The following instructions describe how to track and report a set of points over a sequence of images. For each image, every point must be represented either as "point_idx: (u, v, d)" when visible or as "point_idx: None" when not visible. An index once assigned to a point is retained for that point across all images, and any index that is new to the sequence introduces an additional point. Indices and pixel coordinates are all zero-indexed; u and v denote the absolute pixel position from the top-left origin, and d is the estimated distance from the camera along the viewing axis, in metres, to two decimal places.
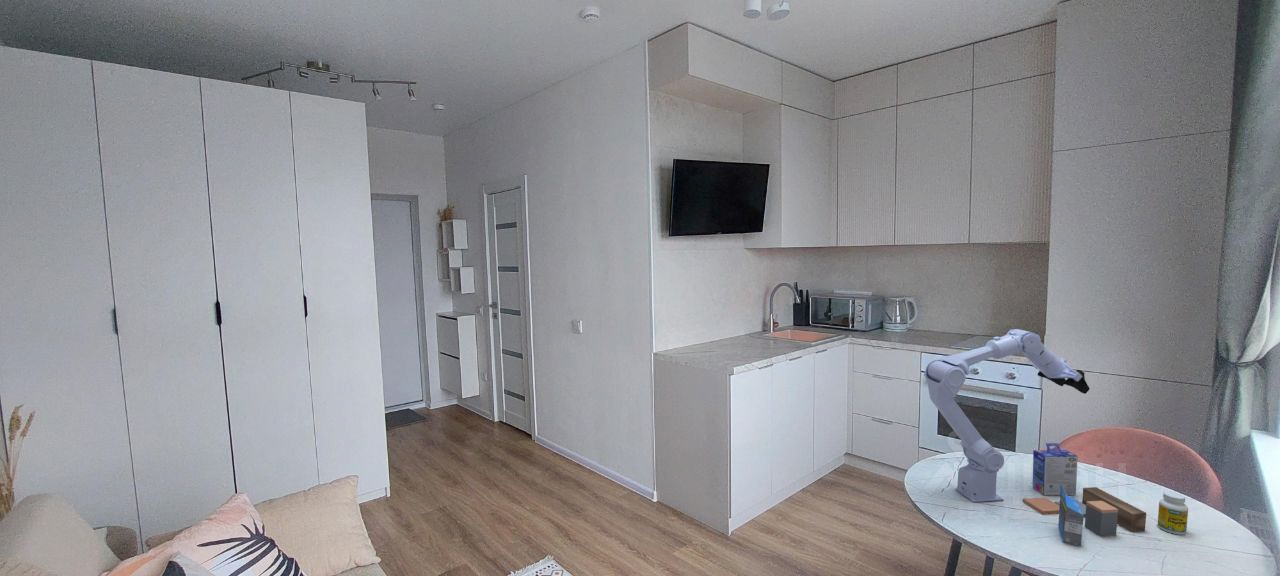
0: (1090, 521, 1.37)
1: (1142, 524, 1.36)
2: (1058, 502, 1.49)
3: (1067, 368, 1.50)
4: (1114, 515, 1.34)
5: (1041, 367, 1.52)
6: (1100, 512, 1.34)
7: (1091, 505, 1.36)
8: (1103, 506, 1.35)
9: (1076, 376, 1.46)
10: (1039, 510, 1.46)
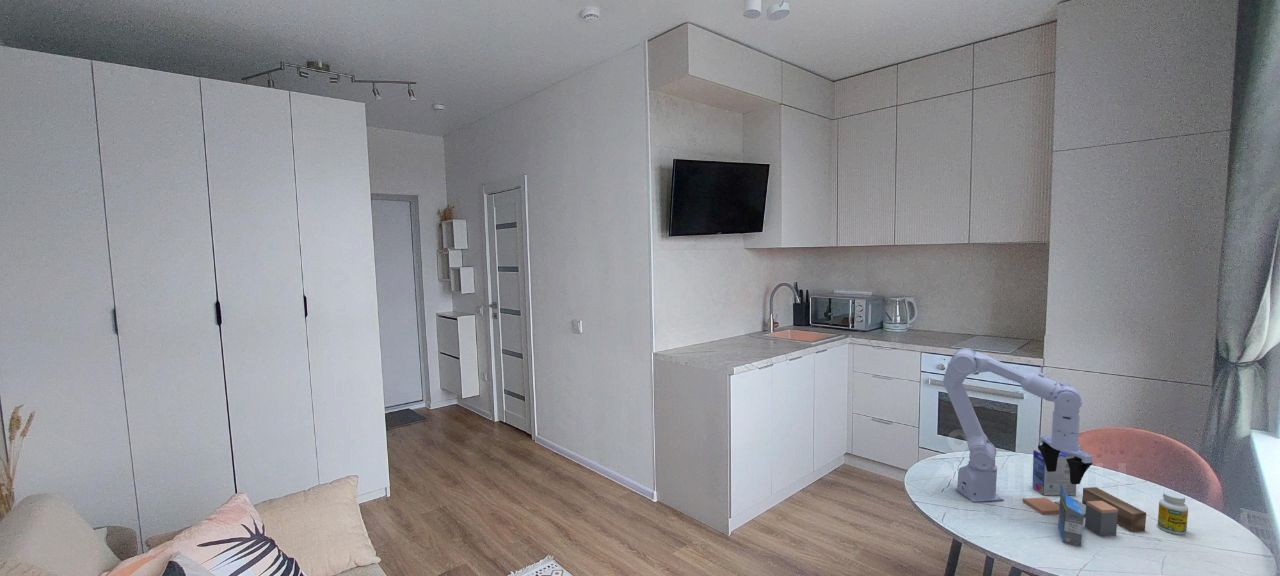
0: (1090, 521, 1.37)
1: (1142, 524, 1.36)
2: (1058, 502, 1.49)
3: (1079, 451, 1.40)
4: (1114, 515, 1.34)
5: (1059, 432, 1.42)
6: (1100, 512, 1.34)
7: (1091, 505, 1.36)
8: (1103, 506, 1.35)
9: (1087, 457, 1.36)
10: (1039, 510, 1.46)
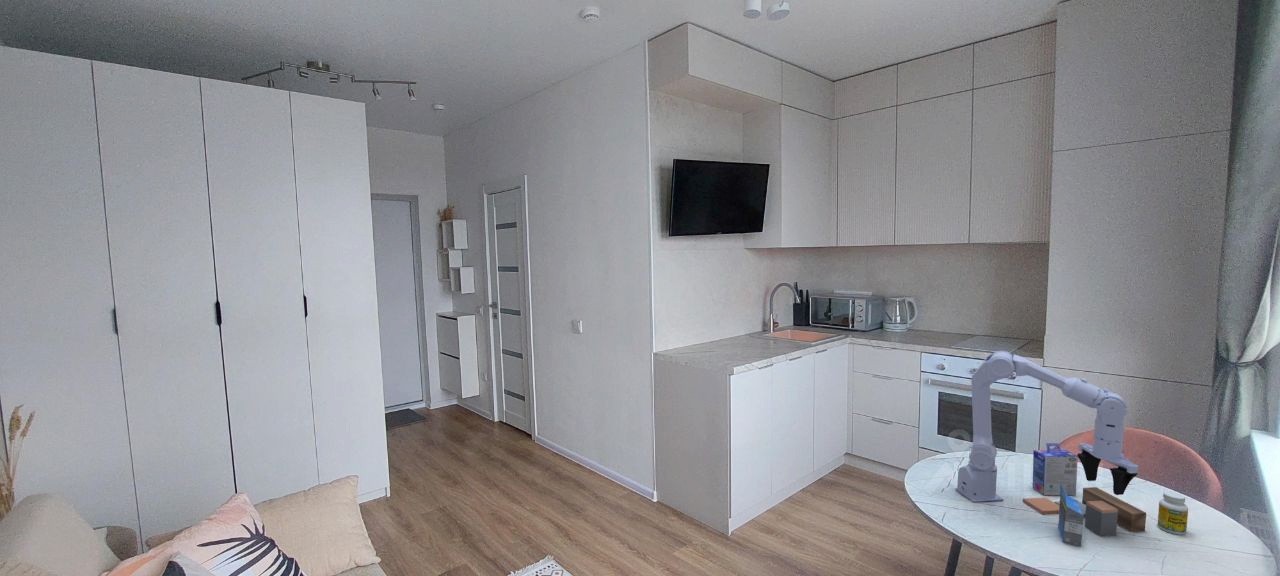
0: (1090, 521, 1.37)
1: (1142, 524, 1.36)
2: (1058, 502, 1.49)
3: (1123, 460, 1.35)
4: (1114, 515, 1.34)
5: (1102, 441, 1.36)
6: (1100, 512, 1.34)
7: (1091, 505, 1.36)
8: (1103, 506, 1.35)
9: (1133, 467, 1.31)
10: (1039, 510, 1.46)
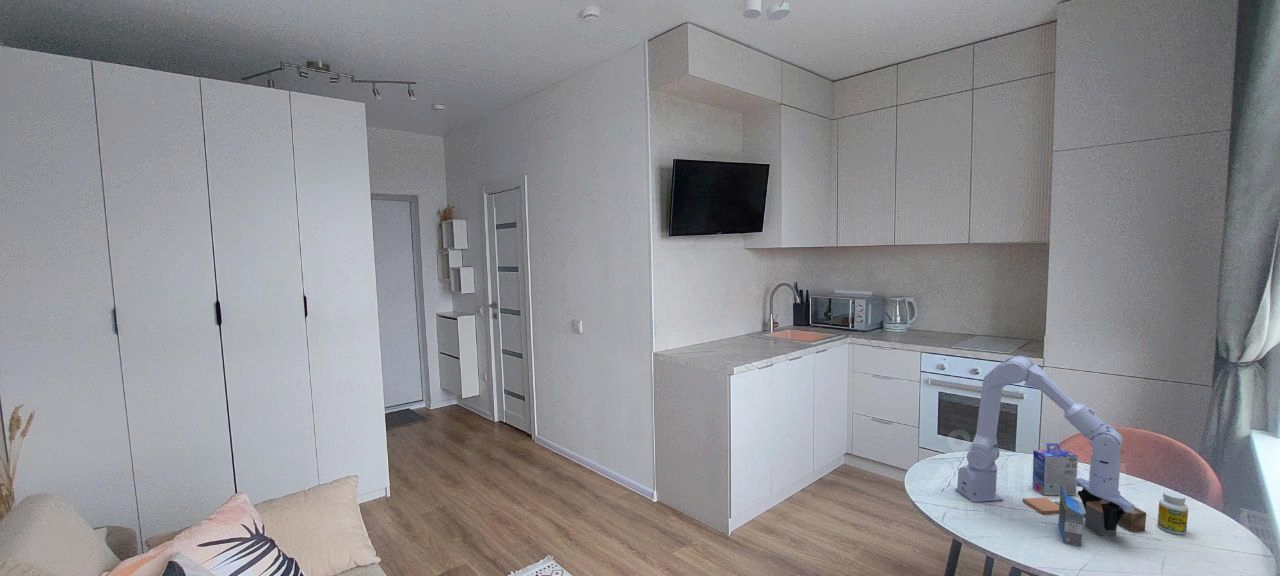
0: (1090, 520, 1.37)
1: (1142, 524, 1.36)
2: (1058, 502, 1.49)
3: (1119, 498, 1.32)
4: None
5: (1098, 478, 1.34)
6: (1100, 511, 1.34)
7: (1091, 505, 1.36)
8: None
9: (1130, 506, 1.28)
10: (1039, 510, 1.46)
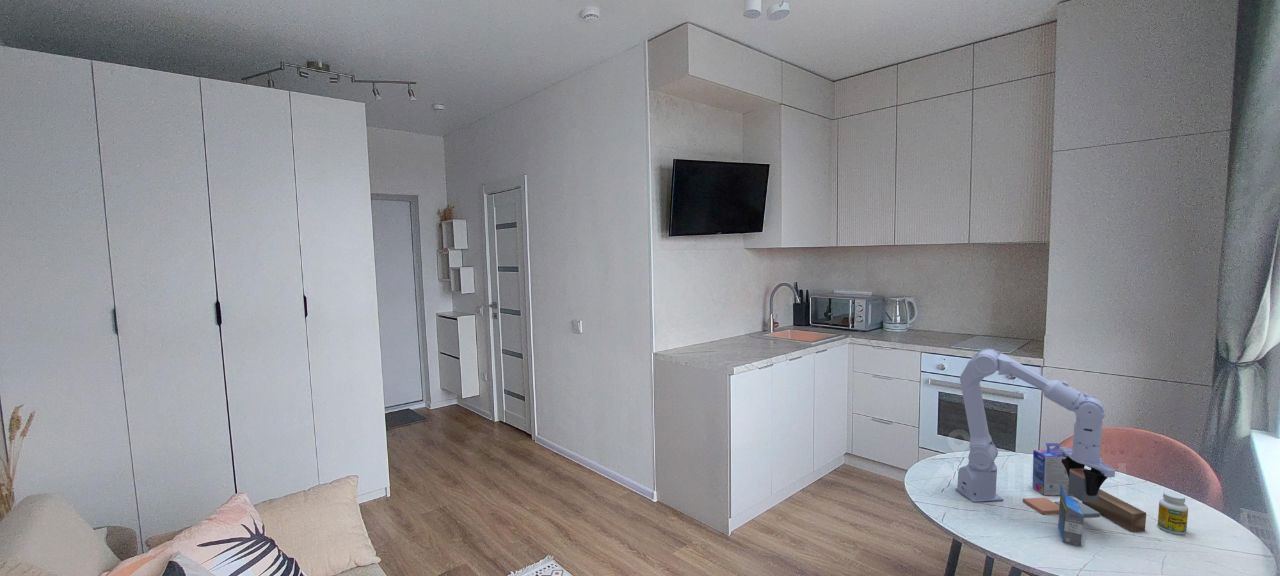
0: (1073, 487, 1.41)
1: (1142, 524, 1.36)
2: (1058, 502, 1.49)
3: (1101, 464, 1.36)
4: None
5: (1080, 445, 1.38)
6: (1083, 478, 1.38)
7: (1074, 472, 1.40)
8: None
9: (1110, 471, 1.32)
10: (1039, 510, 1.46)
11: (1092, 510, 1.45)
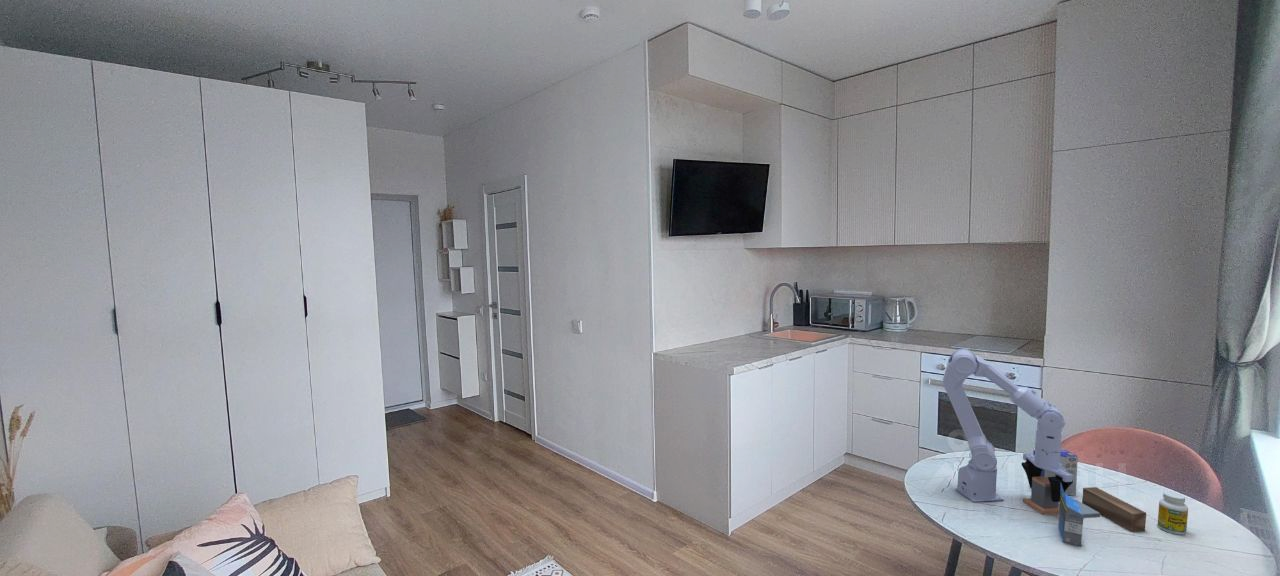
0: (1035, 494, 1.49)
1: (1142, 524, 1.36)
2: None
3: (1060, 469, 1.44)
4: None
5: (1041, 451, 1.46)
6: (1043, 485, 1.46)
7: (1036, 480, 1.48)
8: (1047, 481, 1.47)
9: (1068, 476, 1.40)
10: (1039, 510, 1.46)
11: (1092, 510, 1.45)
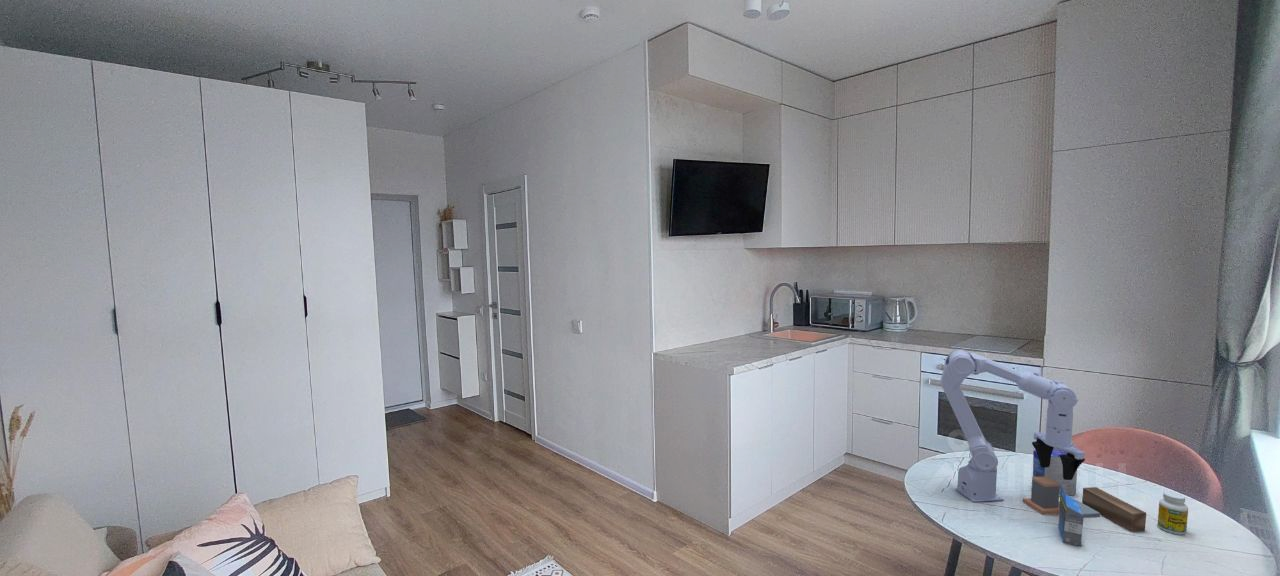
0: (1035, 494, 1.49)
1: (1142, 524, 1.36)
2: None
3: (1072, 447, 1.43)
4: (1056, 489, 1.46)
5: (1053, 429, 1.45)
6: (1043, 485, 1.46)
7: (1036, 480, 1.48)
8: (1047, 481, 1.47)
9: (1080, 454, 1.39)
10: (1039, 510, 1.46)
11: (1092, 510, 1.45)
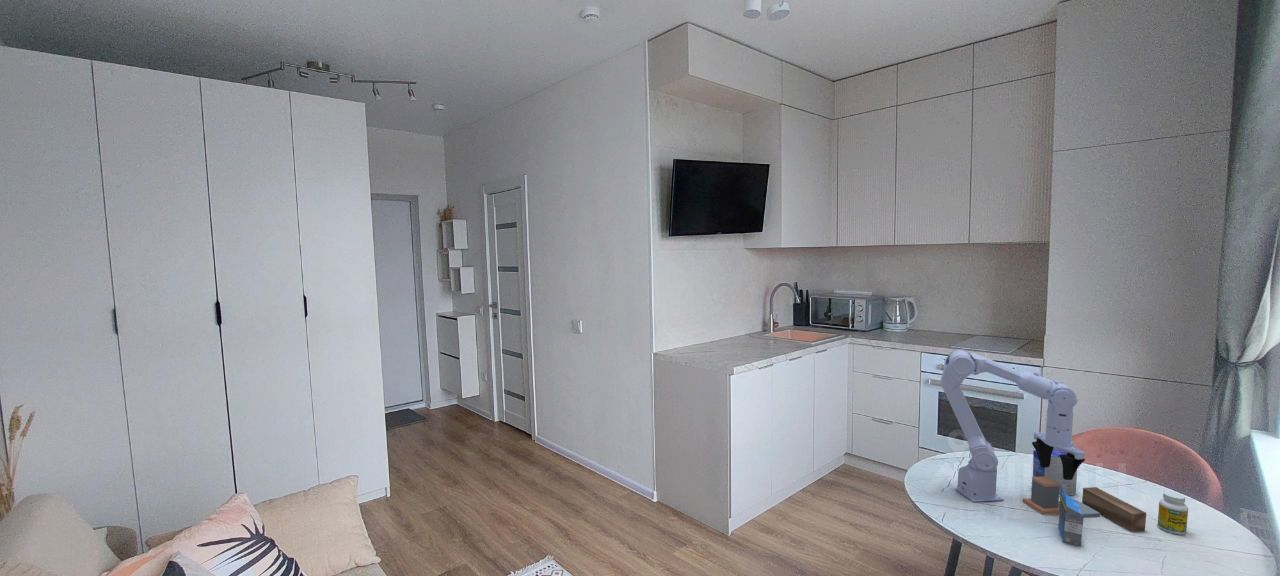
0: (1035, 494, 1.49)
1: (1142, 524, 1.36)
2: None
3: (1072, 447, 1.43)
4: (1056, 489, 1.46)
5: (1053, 429, 1.45)
6: (1043, 485, 1.46)
7: (1036, 480, 1.48)
8: (1047, 481, 1.47)
9: (1080, 454, 1.39)
10: (1039, 510, 1.46)
11: (1092, 510, 1.45)
